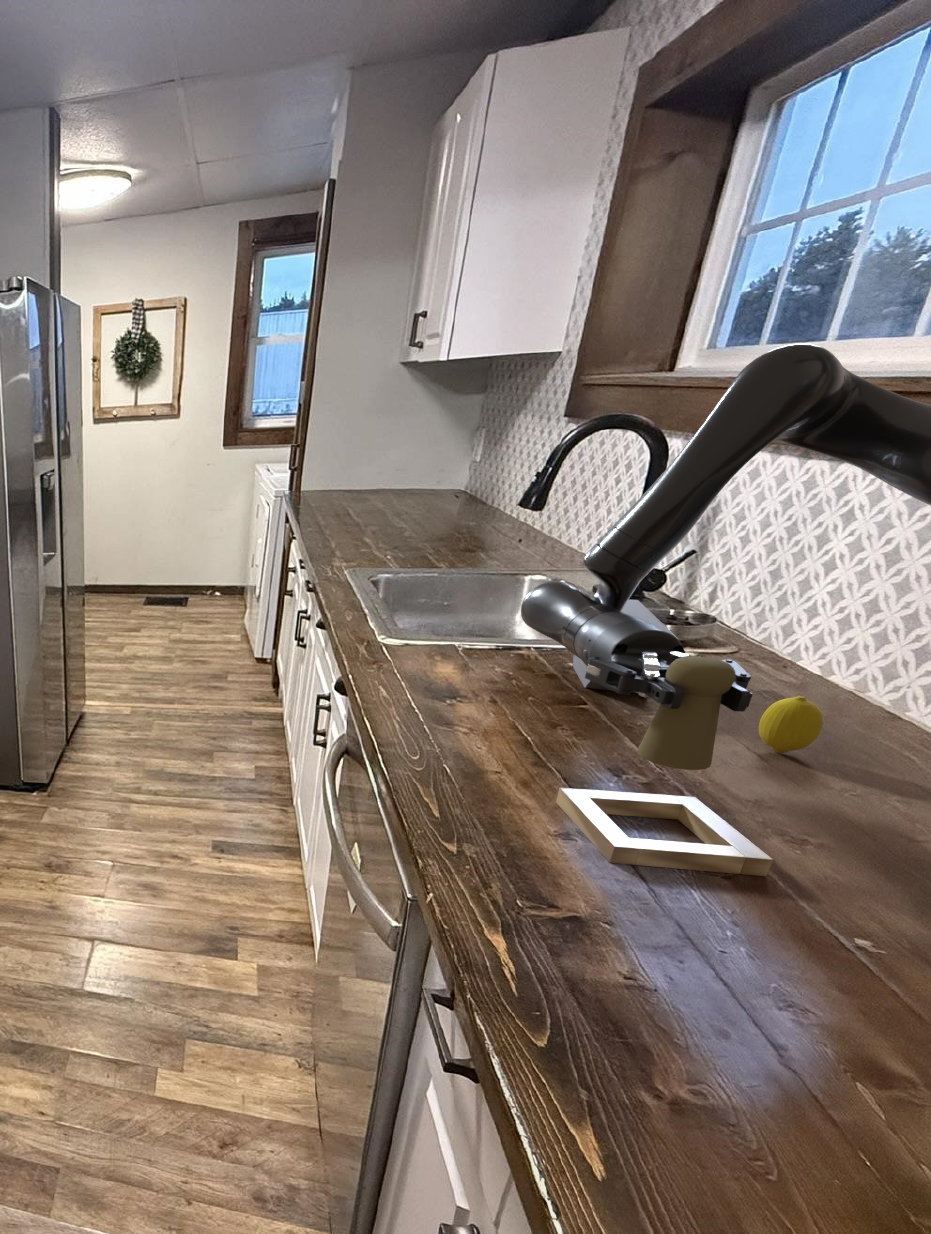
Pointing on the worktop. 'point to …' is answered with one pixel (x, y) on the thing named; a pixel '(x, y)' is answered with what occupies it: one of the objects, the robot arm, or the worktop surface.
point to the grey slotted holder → (630, 608)
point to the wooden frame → (716, 855)
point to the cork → (689, 715)
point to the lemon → (790, 724)
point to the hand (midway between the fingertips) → (710, 701)
